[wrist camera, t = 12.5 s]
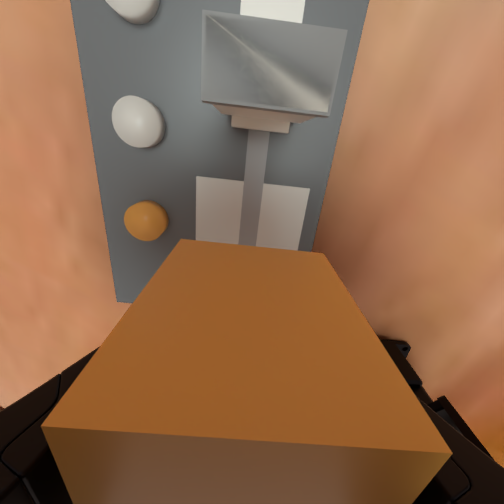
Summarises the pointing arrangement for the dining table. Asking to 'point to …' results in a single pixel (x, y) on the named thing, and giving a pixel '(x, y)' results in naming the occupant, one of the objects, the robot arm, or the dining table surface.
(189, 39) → the breaker panel
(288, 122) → the lever
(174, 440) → the mustard yellow cube
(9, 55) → the dining table surface
